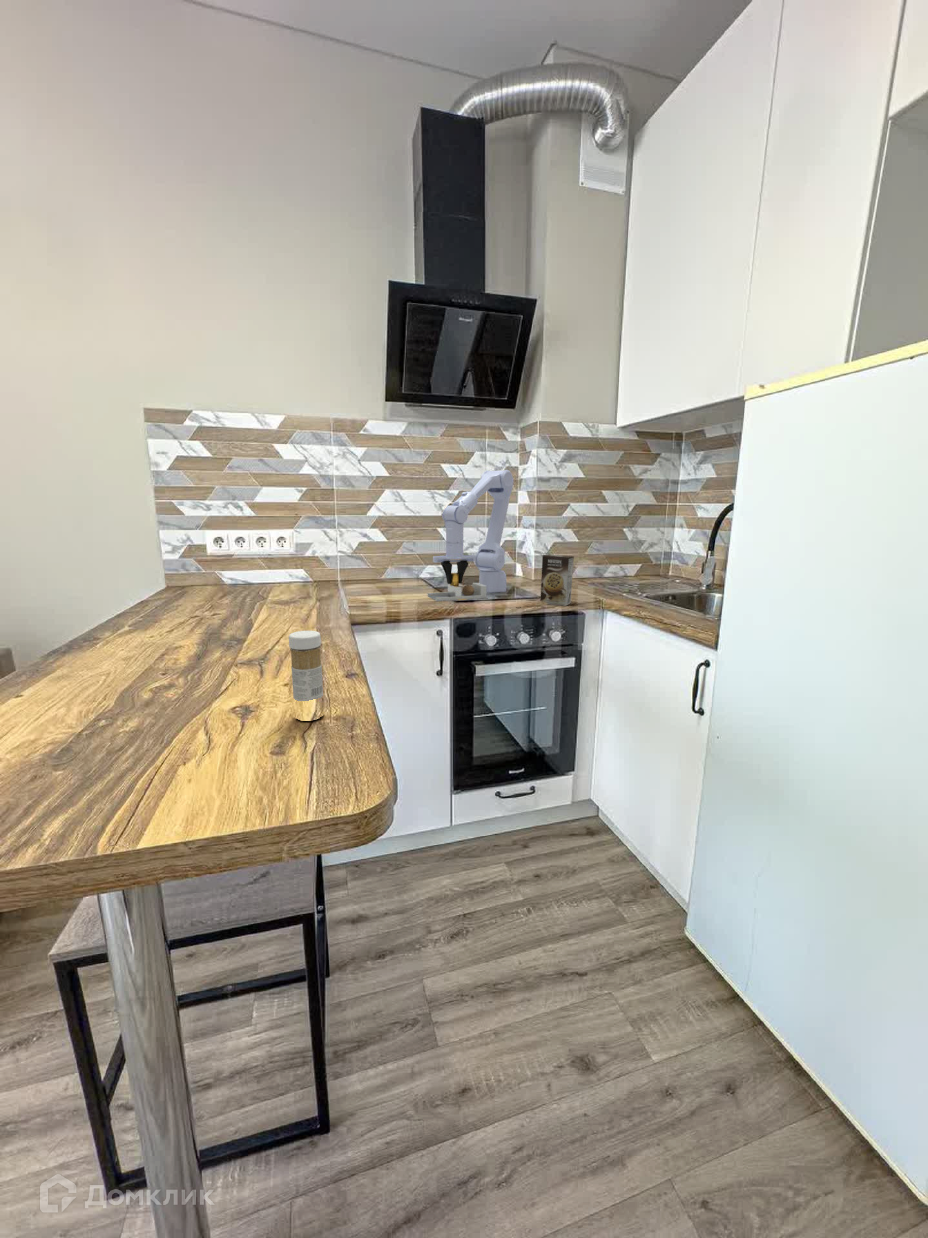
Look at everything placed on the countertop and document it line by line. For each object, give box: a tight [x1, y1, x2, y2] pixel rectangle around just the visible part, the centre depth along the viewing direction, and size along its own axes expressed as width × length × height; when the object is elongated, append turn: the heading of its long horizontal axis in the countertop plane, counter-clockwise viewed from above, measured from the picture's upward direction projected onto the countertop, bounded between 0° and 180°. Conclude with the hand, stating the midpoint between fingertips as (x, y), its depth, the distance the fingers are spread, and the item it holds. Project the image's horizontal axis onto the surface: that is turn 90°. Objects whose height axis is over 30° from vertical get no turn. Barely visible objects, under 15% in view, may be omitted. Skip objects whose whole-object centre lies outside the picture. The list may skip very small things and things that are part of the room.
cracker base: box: [426, 582, 488, 602], centre depth 177 cm, size 18×11×6 cm, turn 110°
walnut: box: [461, 584, 474, 596], centre depth 178 cm, size 4×4×4 cm
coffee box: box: [539, 554, 575, 607], centre depth 174 cm, size 9×6×16 cm
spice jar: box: [288, 630, 324, 701], centre depth 80 cm, size 5×5×13 cm
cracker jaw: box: [447, 572, 462, 597], centre depth 176 cm, size 3×8×8 cm, turn 20°
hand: (454, 583), depth 176 cm, fingers open, 3 cm apart
